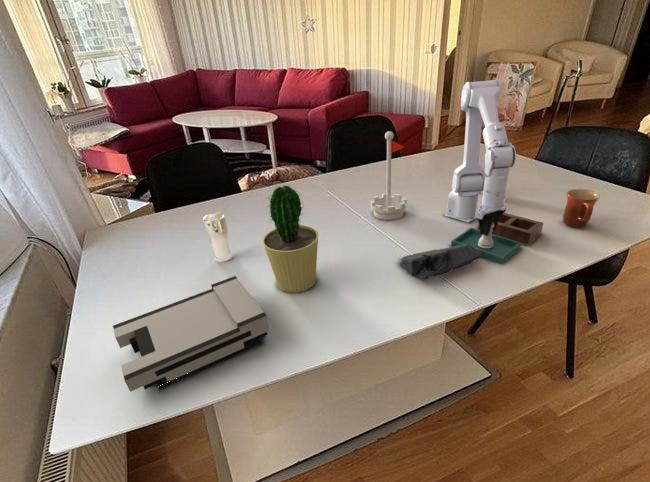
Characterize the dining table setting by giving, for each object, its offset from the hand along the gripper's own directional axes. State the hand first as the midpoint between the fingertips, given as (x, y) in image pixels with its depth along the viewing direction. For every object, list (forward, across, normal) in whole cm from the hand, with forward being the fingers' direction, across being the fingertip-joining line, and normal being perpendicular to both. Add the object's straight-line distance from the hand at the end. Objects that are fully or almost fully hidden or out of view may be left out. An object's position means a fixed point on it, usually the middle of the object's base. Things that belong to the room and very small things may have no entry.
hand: (487, 232), depth 119 cm
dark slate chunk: (+5, -17, +4) cm, 18 cm away
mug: (+6, +30, -15) cm, 34 cm away
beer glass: (+6, -58, +61) cm, 84 cm away
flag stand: (+5, +2, +39) cm, 39 cm away
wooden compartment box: (+5, +14, -1) cm, 15 cm away
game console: (+6, -85, +29) cm, 90 cm away
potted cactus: (+6, -50, +31) cm, 60 cm away
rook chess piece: (+5, 0, 0) cm, 5 cm away
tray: (+5, 0, 0) cm, 5 cm away
